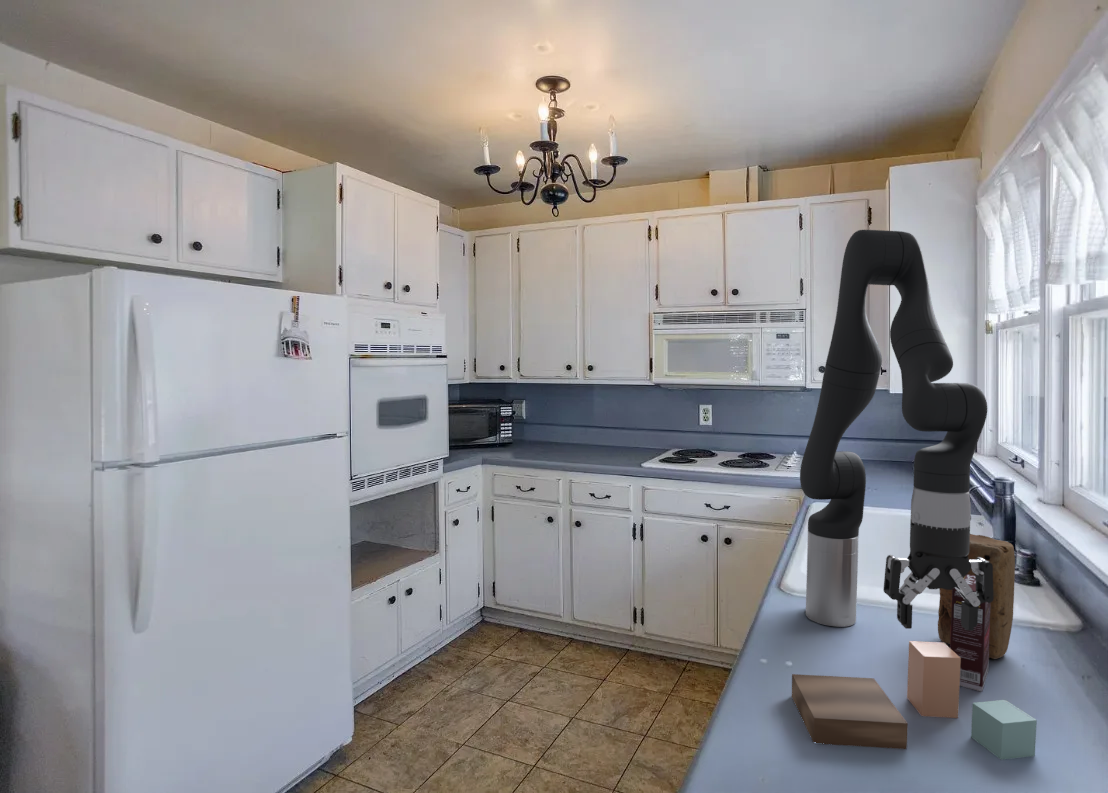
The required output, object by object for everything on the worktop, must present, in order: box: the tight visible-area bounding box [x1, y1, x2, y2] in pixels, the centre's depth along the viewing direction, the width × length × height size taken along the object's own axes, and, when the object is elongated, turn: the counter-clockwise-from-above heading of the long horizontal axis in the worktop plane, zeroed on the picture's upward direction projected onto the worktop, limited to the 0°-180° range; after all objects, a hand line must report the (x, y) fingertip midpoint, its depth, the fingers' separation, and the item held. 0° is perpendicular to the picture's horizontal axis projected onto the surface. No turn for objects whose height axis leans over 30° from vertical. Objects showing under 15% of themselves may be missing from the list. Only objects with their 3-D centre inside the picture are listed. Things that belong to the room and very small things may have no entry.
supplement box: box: [949, 574, 991, 692], centre depth 105 cm, size 9×5×16 cm, turn 141°
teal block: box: [970, 699, 1038, 761], centre depth 87 cm, size 5×5×5 cm
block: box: [937, 533, 1016, 660], centre depth 115 cm, size 11×8×20 cm
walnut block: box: [791, 673, 909, 750], centre depth 94 cm, size 12×12×4 cm
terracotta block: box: [906, 640, 961, 719], centre depth 97 cm, size 5×5×9 cm
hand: (936, 627), depth 96 cm, fingers open, 8 cm apart
